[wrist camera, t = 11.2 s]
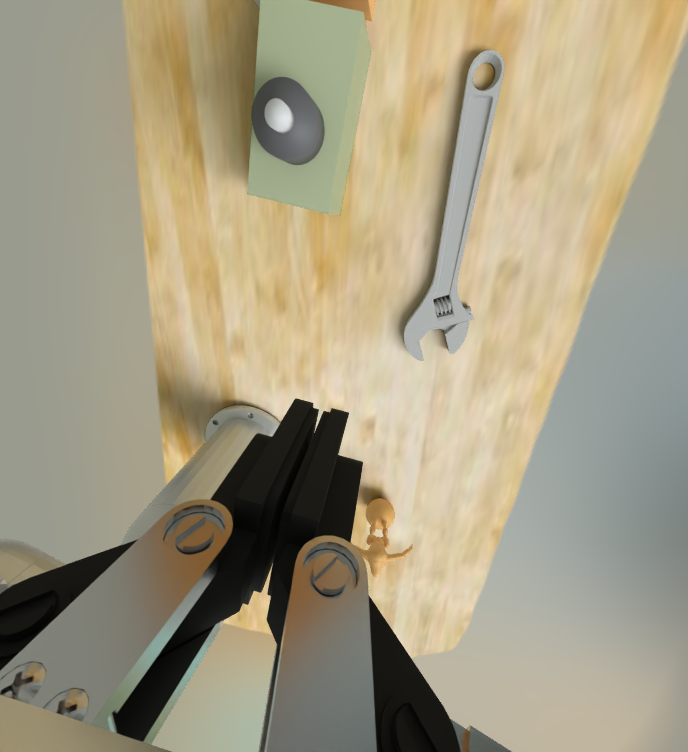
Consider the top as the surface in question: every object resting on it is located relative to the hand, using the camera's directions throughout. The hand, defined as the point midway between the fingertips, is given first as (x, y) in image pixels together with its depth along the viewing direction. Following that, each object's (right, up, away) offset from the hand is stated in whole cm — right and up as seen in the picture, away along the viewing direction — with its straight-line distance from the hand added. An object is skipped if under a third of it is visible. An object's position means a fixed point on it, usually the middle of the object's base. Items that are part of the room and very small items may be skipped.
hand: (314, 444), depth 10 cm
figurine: (+6, -15, +36) cm, 40 cm away
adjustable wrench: (+12, +15, +21) cm, 29 cm away
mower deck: (0, +27, +17) cm, 32 cm away
